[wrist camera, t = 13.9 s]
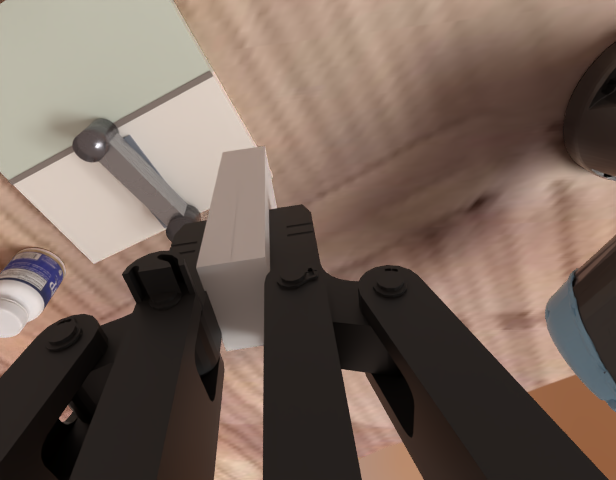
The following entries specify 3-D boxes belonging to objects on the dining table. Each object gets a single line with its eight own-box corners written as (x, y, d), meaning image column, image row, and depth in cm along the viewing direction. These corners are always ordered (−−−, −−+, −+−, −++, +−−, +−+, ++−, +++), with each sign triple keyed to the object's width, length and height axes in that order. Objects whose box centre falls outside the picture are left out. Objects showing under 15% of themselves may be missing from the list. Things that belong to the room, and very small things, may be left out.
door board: (272, 173, 41) (272, 179, 40) (97, 257, 45) (93, 264, 43) (129, -76, 29) (124, -78, 28) (-93, 67, 33) (-105, 71, 32)
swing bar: (82, 129, 35) (63, 146, 32) (105, 111, 35) (88, 126, 31) (186, 230, 42) (179, 253, 39) (207, 217, 41) (202, 238, 38)
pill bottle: (56, 290, 47) (17, 350, 39) (7, 270, 44) (-43, 329, 37) (74, 260, 45) (37, 318, 37) (24, 237, 42) (-26, 293, 35)
